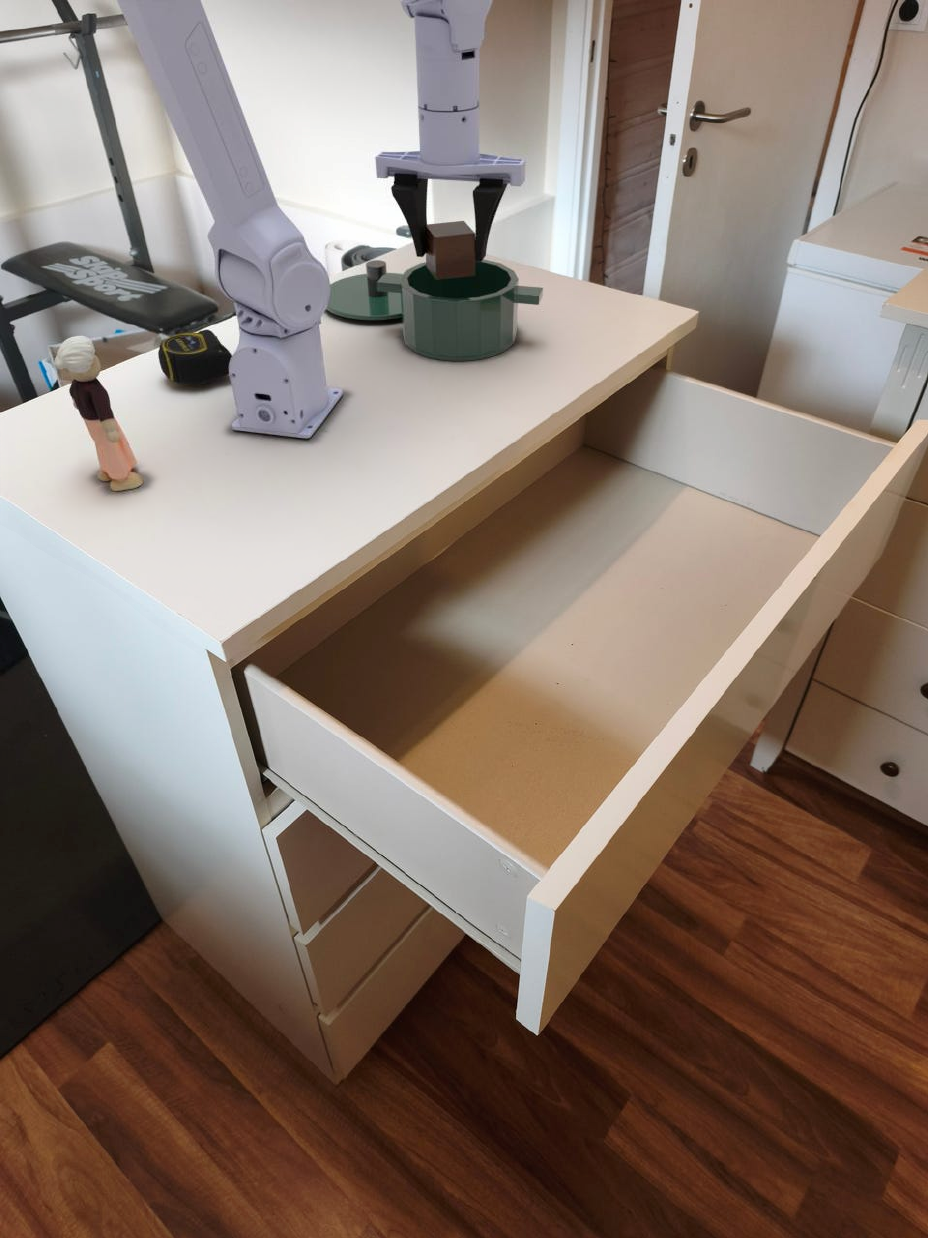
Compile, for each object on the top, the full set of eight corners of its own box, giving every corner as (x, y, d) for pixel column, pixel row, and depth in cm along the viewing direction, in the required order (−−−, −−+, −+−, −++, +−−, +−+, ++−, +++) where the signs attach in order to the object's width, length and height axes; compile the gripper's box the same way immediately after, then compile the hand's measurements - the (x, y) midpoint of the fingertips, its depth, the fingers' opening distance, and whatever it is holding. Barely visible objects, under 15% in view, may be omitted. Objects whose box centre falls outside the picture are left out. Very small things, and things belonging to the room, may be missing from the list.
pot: (528, 368, 90) (530, 307, 85) (366, 352, 93) (360, 293, 89) (547, 321, 99) (551, 264, 94) (399, 308, 102) (396, 252, 98)
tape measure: (239, 382, 88) (233, 347, 85) (173, 397, 85) (164, 362, 83) (221, 357, 92) (214, 323, 90) (157, 370, 90) (148, 336, 87)
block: (475, 275, 88) (475, 233, 85) (435, 280, 87) (434, 237, 84) (464, 261, 91) (463, 220, 88) (426, 266, 90) (424, 224, 87)
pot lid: (419, 329, 97) (417, 289, 94) (305, 320, 100) (299, 280, 97) (447, 285, 107) (446, 247, 104) (343, 277, 110) (339, 240, 107)
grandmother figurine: (163, 481, 74) (123, 341, 65) (126, 501, 72) (79, 358, 63) (111, 453, 77) (66, 317, 69) (74, 471, 75) (22, 332, 67)
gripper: (533, 99, 81) (527, 247, 90) (387, 93, 83) (396, 238, 92) (518, 115, 75) (514, 271, 85) (364, 109, 78) (375, 260, 87)
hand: (451, 255), depth 88 cm, fingers closed on block, 5 cm apart
